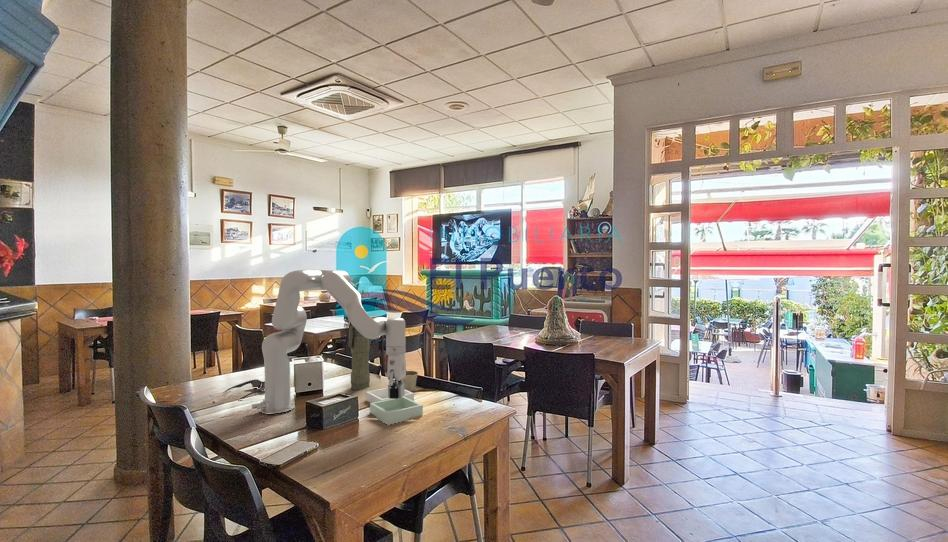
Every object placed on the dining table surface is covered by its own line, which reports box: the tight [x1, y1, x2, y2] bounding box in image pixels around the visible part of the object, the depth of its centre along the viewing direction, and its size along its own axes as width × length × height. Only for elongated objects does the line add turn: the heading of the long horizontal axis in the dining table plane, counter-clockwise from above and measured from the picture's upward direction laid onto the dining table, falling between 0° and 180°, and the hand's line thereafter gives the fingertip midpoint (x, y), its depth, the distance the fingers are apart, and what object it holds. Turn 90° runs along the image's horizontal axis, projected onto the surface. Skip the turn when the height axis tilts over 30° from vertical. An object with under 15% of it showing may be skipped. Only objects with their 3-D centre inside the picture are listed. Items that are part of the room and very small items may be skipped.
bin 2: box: [369, 396, 424, 426], centre depth 170 cm, size 15×15×4 cm
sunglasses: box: [223, 378, 265, 400], centre depth 200 cm, size 16×17×5 cm
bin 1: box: [365, 387, 415, 404], centre depth 186 cm, size 15×15×4 cm
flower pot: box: [402, 370, 419, 392], centre depth 203 cm, size 9×9×9 cm
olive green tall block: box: [348, 324, 372, 391], centre depth 210 cm, size 9×12×35 cm
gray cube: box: [387, 382, 405, 398], centre depth 170 cm, size 5×5×5 cm
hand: (396, 395), depth 170 cm, fingers closed on gray cube, 5 cm apart
